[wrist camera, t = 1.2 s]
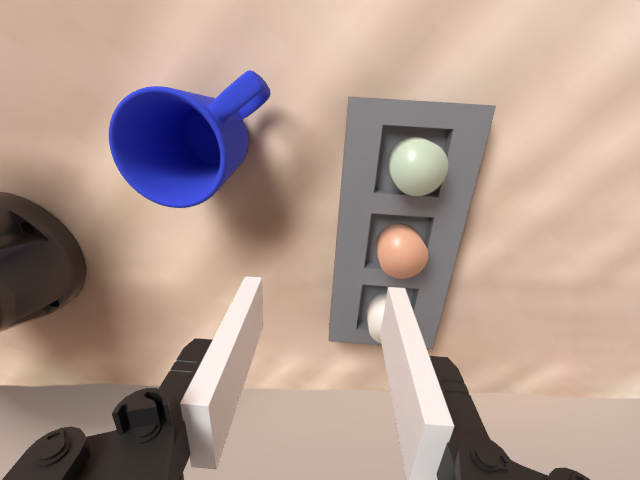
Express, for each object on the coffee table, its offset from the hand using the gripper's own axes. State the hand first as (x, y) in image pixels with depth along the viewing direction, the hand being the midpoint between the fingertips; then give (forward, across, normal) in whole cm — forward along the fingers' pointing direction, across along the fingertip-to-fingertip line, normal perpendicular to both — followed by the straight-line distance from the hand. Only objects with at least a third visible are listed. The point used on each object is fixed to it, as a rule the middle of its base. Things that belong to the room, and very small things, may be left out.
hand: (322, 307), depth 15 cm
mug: (+20, -10, +6) cm, 23 cm away
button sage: (+17, +7, +4) cm, 19 cm away
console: (+20, +7, -4) cm, 21 cm away
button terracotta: (+17, +7, -4) cm, 19 cm away
